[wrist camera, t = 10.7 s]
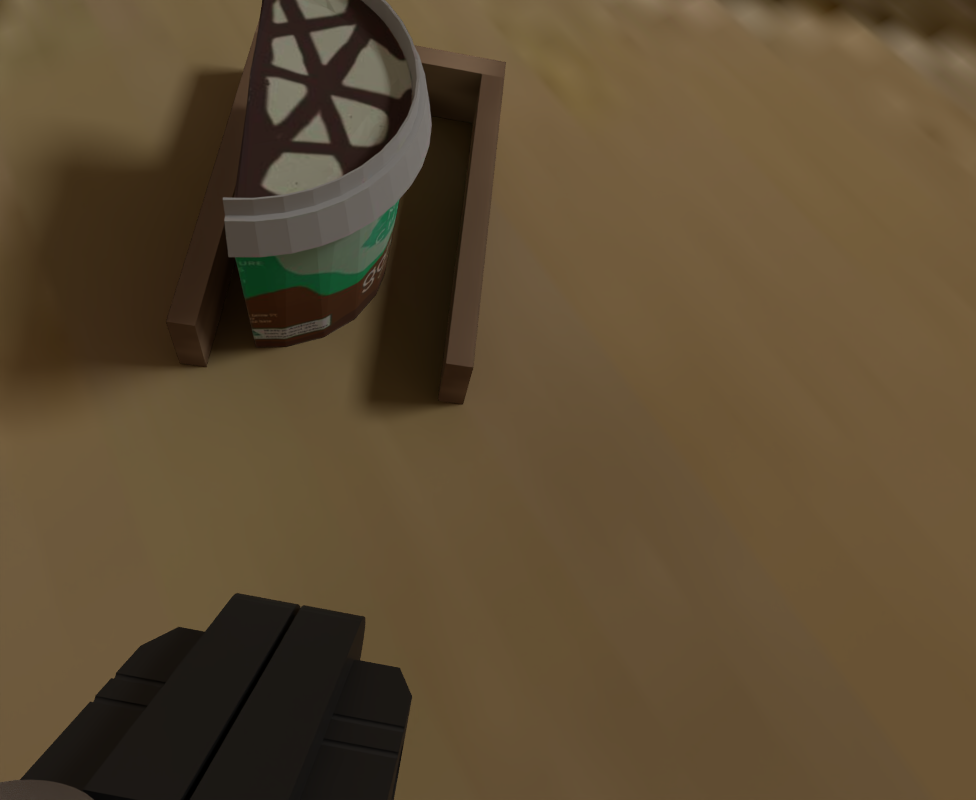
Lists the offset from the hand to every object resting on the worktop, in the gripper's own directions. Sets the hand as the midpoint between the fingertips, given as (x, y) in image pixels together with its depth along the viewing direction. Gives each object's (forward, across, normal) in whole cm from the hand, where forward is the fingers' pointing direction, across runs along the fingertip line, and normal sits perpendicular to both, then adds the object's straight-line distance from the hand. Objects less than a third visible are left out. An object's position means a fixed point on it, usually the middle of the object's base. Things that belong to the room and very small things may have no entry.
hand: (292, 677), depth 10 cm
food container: (+28, +6, -2) cm, 28 cm away
